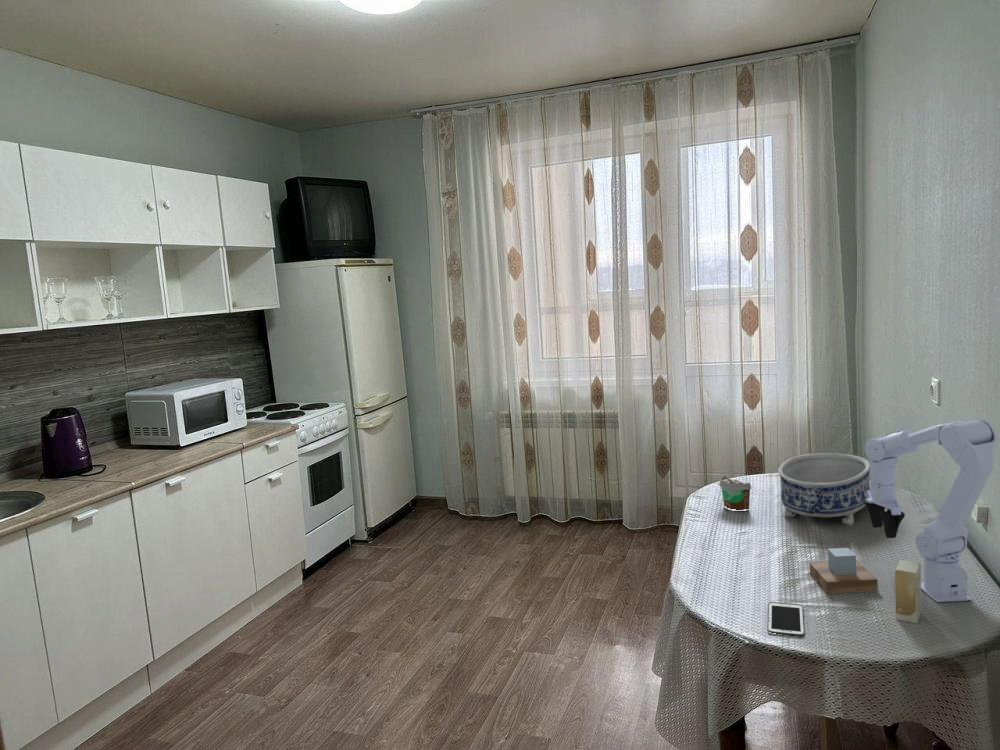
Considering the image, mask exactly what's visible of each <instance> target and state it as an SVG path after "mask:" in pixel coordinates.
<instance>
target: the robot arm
mask: <svg viewBox="0 0 1000 750" xmlns="http://www.w3.org/2000/svg"><path fill="white" fill-rule="evenodd" d="M998 440H999V438H998V435H997V434H996V431H995V430H994V427H993V425H992V424H991V423H990V422H989V421H987V420H985V419H982V418H976V419H972V420H961V421H954V422H947V423H942V424H937V425H934V426H929V427H927V428H925V429H922V430H918V431H916V432H914V430H913V431H912V430H910V429H905V428H899V429H896V430H895V432H894V433H891V434H890V433H884V434H883V435H882V437H878V438H877V437H876V438H870V439H869V440H867V441H866V442H865V444H864V452H865V454H866V457H867V458H868V459H869V461H870V462H869V463H870V470H869V471H870V490H868V491H867V497H868V498H867V499H866V500H864V501H863V502H864V504H865V506H864V507H865V509H866V510H867V512H868V514H869V519H870V522H871V525H872V528H874V529H875V528H882V527H883V528H884V534H885V537H886V538H887V539H895V538H896V537H897V534H898V530H899V527H900V525H901V522H902V521H903V520H904V518H905V517H906V513H905V512H903V511H902V507H901V506H900V505H899V502H898V499H897V489H896V488H897V487H896V484H897V483H896V481H897V480H896V465H897V463H898V459H899V457H900V456H904V455H908V454H909V455H910V454H912V453H916V452H918V450H919V449H920V447H921V445H925V444H929V443H933V442H937V444H938V445H939V446H942V447H943V448H944V449H945V450H946V452H947V453H948V455H949V456H950V458H952V460H953V461H954V463H955V464H956V465H958V466H959V467H960V469H959V471H958V474H957V475H956V478H955V479H954V482H953V484H952V487H951V488H950V490H949V493H948V494H947V496H946V499H945V500H944V502H943V504H942V506H941V509H940V511H939V514H938V515H937V517H936V519H935V520H933V521H932V522H930V523H929V524H928V525H926V526H925V528H924V530H923V531H922V532H919V533H918V534H917V536H916V538H915V545H916V546H915V547H916V548H917V551H918V553H920V554H921V557H923V582H921V591H923V592H924V593H925V594H927V595H928V596H929V597H930V598H931V599H932V600H934V601H935V602H936V603H943V602H946V603H947V602H964V601H966V602H968V600H969V601H972V597H970V596H969V595H968V575H967V572H966V570H964V568H962V566H961V563H960V558H961V557H962V553H963V552H964V551H965V550H966V549H967V546H968V536H969V534H970V531H969V530H968V528H967V527H966V526H965V525H966V523H967V522H968V519H969V517H970V516H971V513H972V512H973V509H974V507H975V505H976V504H977V501H978V499H979V498H980V495H981V493H982V491H983V490H984V488H985V485H986V484H987V482H988V480H989V478H990V476H991V474H992V472H993V471H994V448H995V447H996V444H997V442H998Z"/></svg>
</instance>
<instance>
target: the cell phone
mask: <svg viewBox="0 0 1000 750" xmlns="http://www.w3.org/2000/svg"><path fill="white" fill-rule="evenodd" d="M767 607H768V608H767V615H768V614H770V615H771V616H772V617H771V616H770V615H769V616H768V617H770V618H771V619H772V620H771V619H769V620H770V622H771V623H769V625H770V626H768V625H767V632H768V631H769V632H771V633H776V634H780V635H779V636H783V635H789V636H788V637H793V636H799V637H798V638H804V637H805V621H804V620H805V619H804V608H803V605H802V604H796V603H787V602H786V603H785V602H774V601H769V603H768V605H767ZM781 634H782V635H781ZM803 636H804V637H803Z"/></svg>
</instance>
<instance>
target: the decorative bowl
mask: <svg viewBox="0 0 1000 750" xmlns="http://www.w3.org/2000/svg"><path fill="white" fill-rule="evenodd" d="M870 471H871V470H870V462H869V460H868V459H866V458H864V457H862V456H859V455H853V454H849V453H848V454H847V453H846V454H845V453H835V452H834V453H833V452H832V453H829V452H828V453H827V452H826V453H822V452H821V453H807V454H801V455H797V456H796V455H795V456H792V457H790V458H788V459H787V460H785V461H784V462H783V463H781V464H780V466H779V468H778V469H777V473H778V475H779V476H780V484H781V485H780V491H781V493H780V497H781V498H780V499H781V502H782V505H783V507H784V508H785V511H784V516H785V517H786V516H788V517H787V518H793V517H795V516H796V514H797V515H798V514H799V515H802V516H807V517H814V518H834V517H835V518H836V517H842V518H841V523H842V524H843V525H846V526H853V525H854V523H855V517H854V514H855V513H857V512H859V511H861V510H862V509H863V508H864V507H866V506H865V504H864V502H863V501H864V500H866V499H867V498H868V497H867V491H868V490H871V484H870ZM843 516H844V517H843Z"/></svg>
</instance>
